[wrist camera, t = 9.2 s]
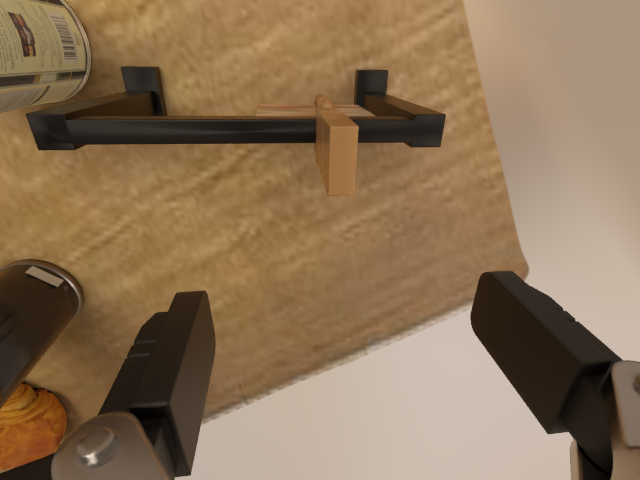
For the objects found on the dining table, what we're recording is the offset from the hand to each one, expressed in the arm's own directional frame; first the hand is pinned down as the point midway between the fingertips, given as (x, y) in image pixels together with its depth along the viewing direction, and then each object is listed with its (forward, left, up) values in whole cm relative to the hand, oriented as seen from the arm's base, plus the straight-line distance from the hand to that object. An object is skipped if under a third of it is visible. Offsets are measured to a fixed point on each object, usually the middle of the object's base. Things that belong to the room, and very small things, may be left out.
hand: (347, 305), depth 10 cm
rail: (-4, +2, -30) cm, 31 cm away
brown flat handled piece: (+1, +3, -26) cm, 26 cm away
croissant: (-42, -41, -31) cm, 66 cm away
